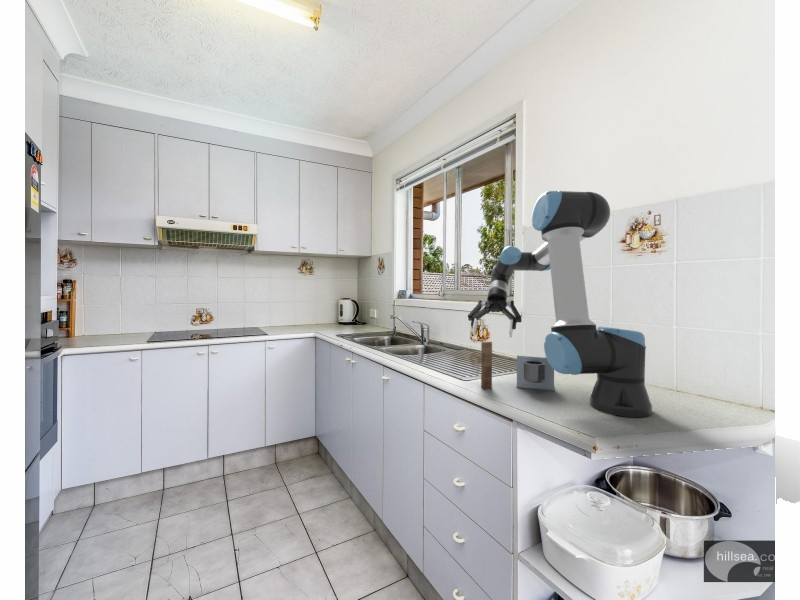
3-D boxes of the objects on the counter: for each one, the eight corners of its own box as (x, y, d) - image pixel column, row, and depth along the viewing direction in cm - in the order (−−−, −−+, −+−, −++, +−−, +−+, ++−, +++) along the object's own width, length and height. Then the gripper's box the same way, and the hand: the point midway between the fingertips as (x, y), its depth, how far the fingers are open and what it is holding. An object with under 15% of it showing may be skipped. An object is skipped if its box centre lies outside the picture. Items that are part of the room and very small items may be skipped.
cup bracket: (525, 376, 123) (525, 359, 123) (545, 377, 120) (545, 360, 120) (523, 381, 115) (523, 363, 115) (544, 383, 113) (544, 365, 112)
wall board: (518, 383, 129) (518, 353, 128) (554, 387, 124) (554, 355, 124) (516, 387, 124) (516, 355, 124) (553, 390, 119) (554, 358, 119)
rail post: (493, 388, 122) (494, 342, 122) (485, 389, 121) (485, 343, 120) (487, 386, 125) (487, 341, 125) (479, 387, 124) (479, 341, 124)
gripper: (530, 300, 144) (527, 342, 130) (469, 299, 153) (460, 338, 140) (529, 287, 139) (526, 329, 125) (466, 287, 148) (457, 326, 135)
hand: (491, 334), depth 133 cm, fingers open, 13 cm apart
